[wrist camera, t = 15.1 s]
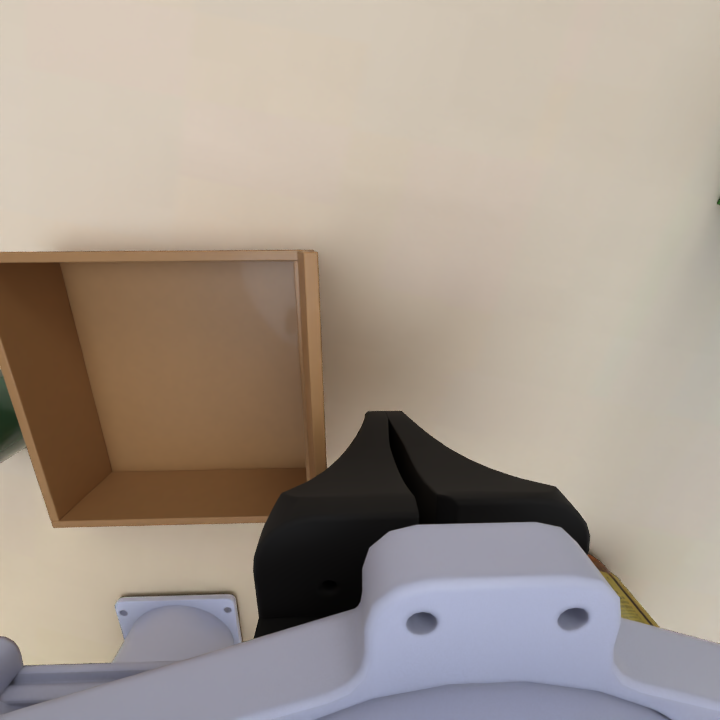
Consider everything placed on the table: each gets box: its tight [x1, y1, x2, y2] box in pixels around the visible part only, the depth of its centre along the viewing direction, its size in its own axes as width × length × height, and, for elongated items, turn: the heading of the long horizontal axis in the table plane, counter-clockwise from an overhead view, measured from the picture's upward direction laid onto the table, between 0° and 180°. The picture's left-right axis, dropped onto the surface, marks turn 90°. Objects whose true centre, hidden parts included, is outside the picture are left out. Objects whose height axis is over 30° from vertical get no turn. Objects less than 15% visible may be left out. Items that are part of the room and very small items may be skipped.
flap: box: [297, 251, 327, 480], centre depth 12 cm, size 6×13×1 cm
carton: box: [0, 250, 314, 528], centre depth 17 cm, size 13×13×4 cm
